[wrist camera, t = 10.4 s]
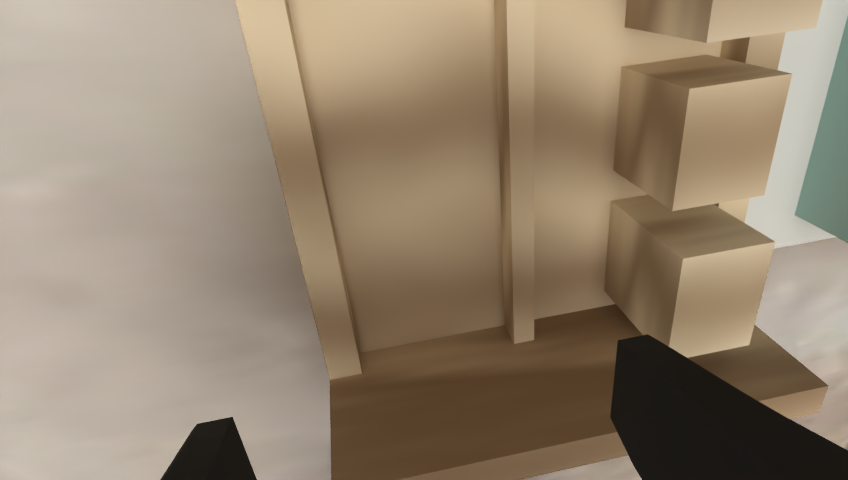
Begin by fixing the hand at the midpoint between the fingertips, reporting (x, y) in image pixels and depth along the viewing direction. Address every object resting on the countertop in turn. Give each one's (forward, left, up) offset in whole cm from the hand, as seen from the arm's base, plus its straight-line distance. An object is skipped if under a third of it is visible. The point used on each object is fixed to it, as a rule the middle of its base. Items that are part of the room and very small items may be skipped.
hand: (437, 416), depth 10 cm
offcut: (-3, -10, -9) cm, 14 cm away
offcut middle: (+2, -10, -9) cm, 14 cm away
